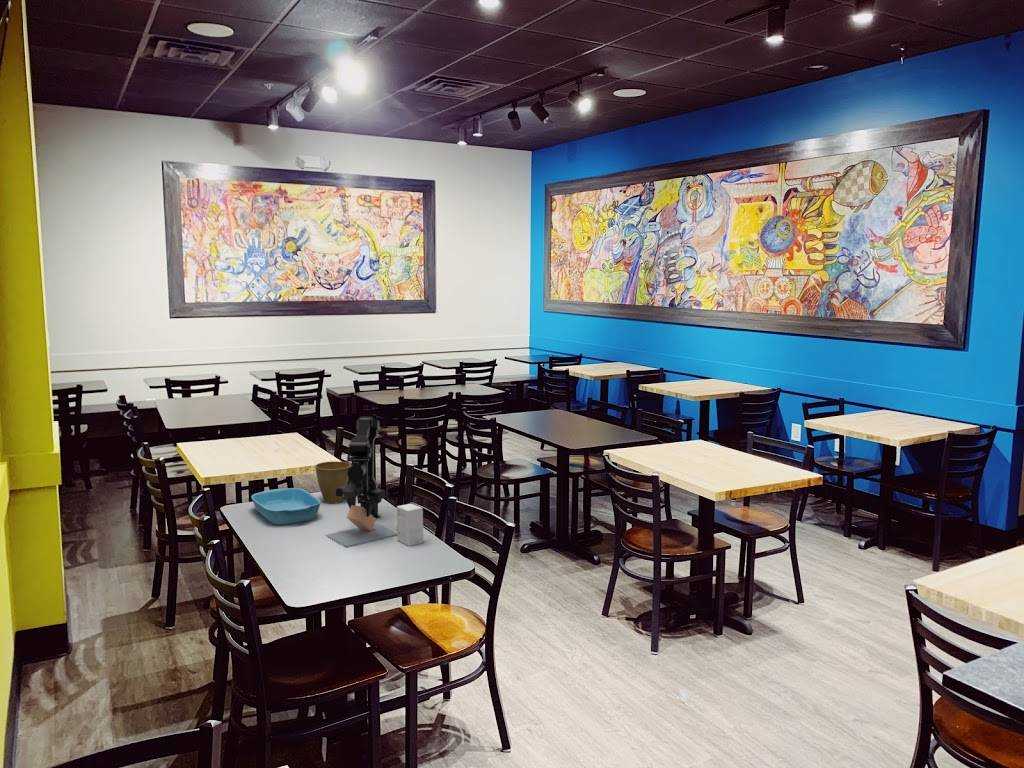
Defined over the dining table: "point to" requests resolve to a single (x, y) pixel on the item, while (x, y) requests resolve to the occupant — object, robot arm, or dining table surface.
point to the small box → (410, 524)
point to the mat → (361, 535)
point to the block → (361, 518)
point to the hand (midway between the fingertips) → (360, 515)
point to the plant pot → (332, 478)
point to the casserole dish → (286, 505)
